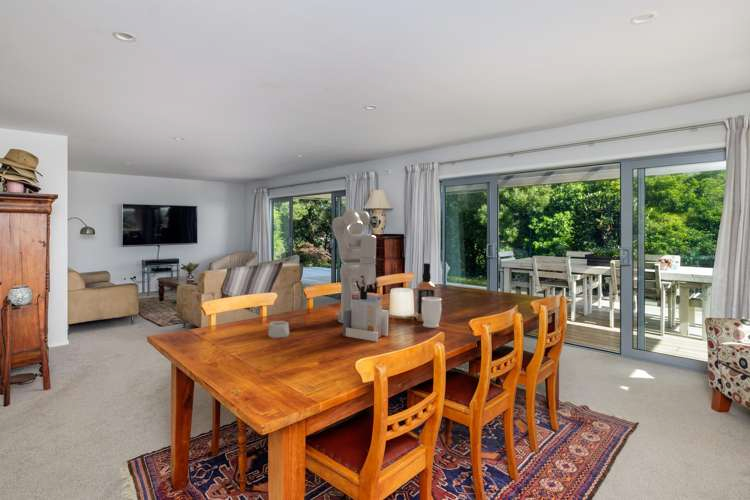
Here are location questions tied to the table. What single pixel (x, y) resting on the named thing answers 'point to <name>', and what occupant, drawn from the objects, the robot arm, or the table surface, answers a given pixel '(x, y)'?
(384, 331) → the shelf nook
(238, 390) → the table surface
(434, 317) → the jar
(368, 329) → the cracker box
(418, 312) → the whiskey bottle
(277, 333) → the grey rounded block
